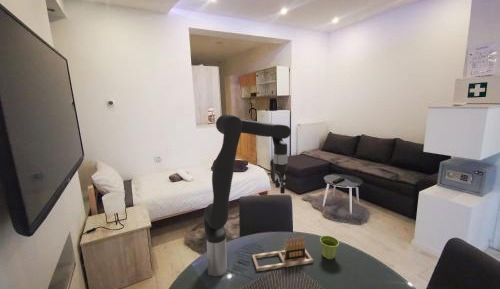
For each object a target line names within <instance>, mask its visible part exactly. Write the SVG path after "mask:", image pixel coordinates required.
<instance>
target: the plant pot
mask: <svg viewBox="0 0 500 289" xmlns="http://www.w3.org/2000/svg"><path fill="white" fill-rule="evenodd" d="M319 242H320V244H321V254H322V257H323V258H325V259H327V260H333V259H334V258H335V256H336V251H337V248H338V246H339V245H340V242H339V240H338V239H337V238H336V237H335V236H331V235H323V236H320V238H319Z"/></svg>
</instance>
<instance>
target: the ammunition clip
mask: <svg viewBox="0 0 500 289" xmlns="http://www.w3.org/2000/svg"><path fill="white" fill-rule="evenodd" d="M305 247H306V241H305V235H302V236H299V237H298V236H296V237H295V236H293V238H292V237H289V238H288V237H287V238H286V239H285V249H284V250H285V254H284V255H285V259H286V260H290V259H296V258H303V257H306V255H305V249H306V248H305Z"/></svg>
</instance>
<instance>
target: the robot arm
mask: <svg viewBox="0 0 500 289" xmlns="http://www.w3.org/2000/svg"><path fill="white" fill-rule="evenodd" d="M215 127H216V130H217V131H218V132H219V133H220V134H222V135H223V138H222V139H223V140H222V146H221V148H220V151H219V153H218V154H217V156H216V158H215V160H214V162H213V167H212V173H211V185H212V193H213V194H212V195H213V198H212V199H213V200H212V203H209V204H208V205H207V206H206V207H205V208H204V211H203V212H204V213H203V224H204V232H205V237H206V257H207V260H206V261H207V276H212V277H220V276H223V275H224V274H225V273H226V272H228V271H227V270H228V260H227V256H228V255H227V254H228V253H227V252H228V251H227V232H226V228H225V225H226V224H227V222H228V217H229V205H230V204H229V203H230V194H231V189H232V188H231V187H232V181H233V177H234V170H235V163H236V156H237V151H238V145H239V143H240V139H241V136H242V135H241V134H248V135H253V136H258V137H267V138H269V137H271V139H272V143H273V159H272V160H273V161H272V162H273V164H272V166H273V168H272V169H273V179H274V184H275V188H277V189H279V188H280V194H285V192H286V191H285V190H286V188H287V186H288V183H287V182H288V181H287V180H288V179H287V178H288V177H287V175H285V172H287V170H288V144H287V142H284V140H285V139H288V138H289V137H290V136H291V135H292V134H291V133H292V129H291V127H290V126H289V125H286V124H281V123H271V122H268V121H267V122H266V121H255V120H246V119H241V118H240V117H239V116H237V115H236V114H235V115H234V114H227V113H226V114H222V115H220V116H218V118H217V119H216V122H215Z"/></svg>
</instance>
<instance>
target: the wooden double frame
mask: <svg viewBox="0 0 500 289" xmlns="http://www.w3.org/2000/svg"><path fill="white" fill-rule="evenodd" d="M251 256H252V257H251V258H252V261H253V264H254V267H255V270H256V272H260V271H261V272H262V271H267V270H274V269H281V268H285V267H286V268H288V267H292V266H299V265H307V264H312V263H314V258H312V256H311V254H309V252H308V251H307V249H306V248H305V257H303V258H296V259H290V260H286V259H285V249H284V250H276V251H269V252H262V253H255V254H252V255H251ZM273 256H278V257H279V259H280V261H281V262H280V263H274V264H266V265H260V266H259V264H258V260H257V259H262V258H267V257H273Z"/></svg>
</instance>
